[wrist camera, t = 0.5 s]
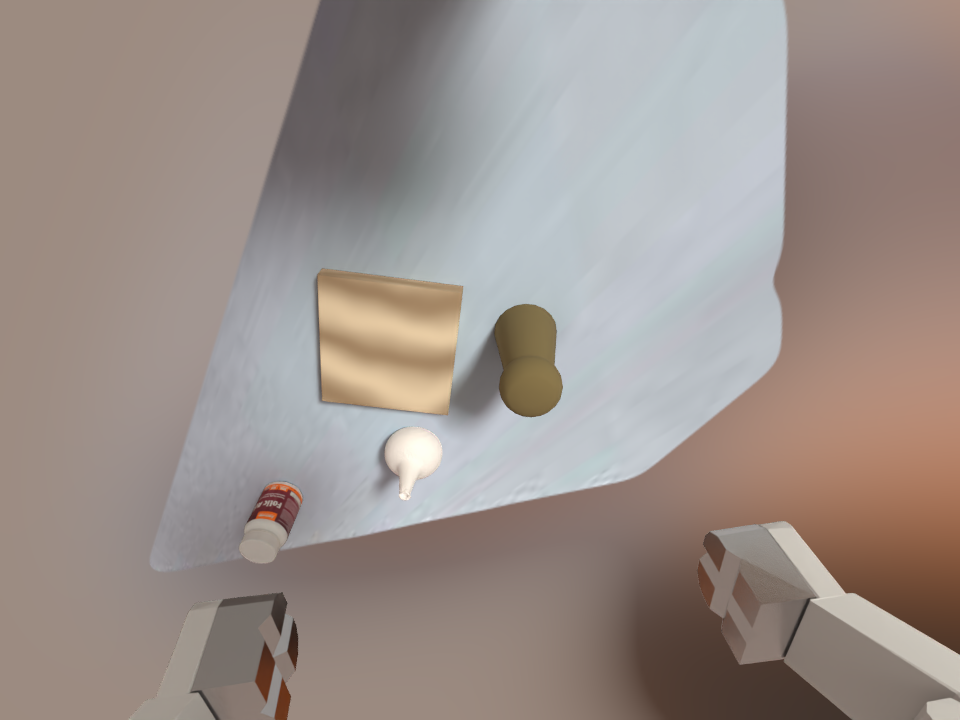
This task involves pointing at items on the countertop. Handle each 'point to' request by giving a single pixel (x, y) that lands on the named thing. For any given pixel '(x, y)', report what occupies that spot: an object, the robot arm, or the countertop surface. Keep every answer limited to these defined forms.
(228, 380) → the countertop surface
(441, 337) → the birch board
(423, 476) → the garlic bulb
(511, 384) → the cork
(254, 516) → the pill bottle
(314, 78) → the countertop surface
